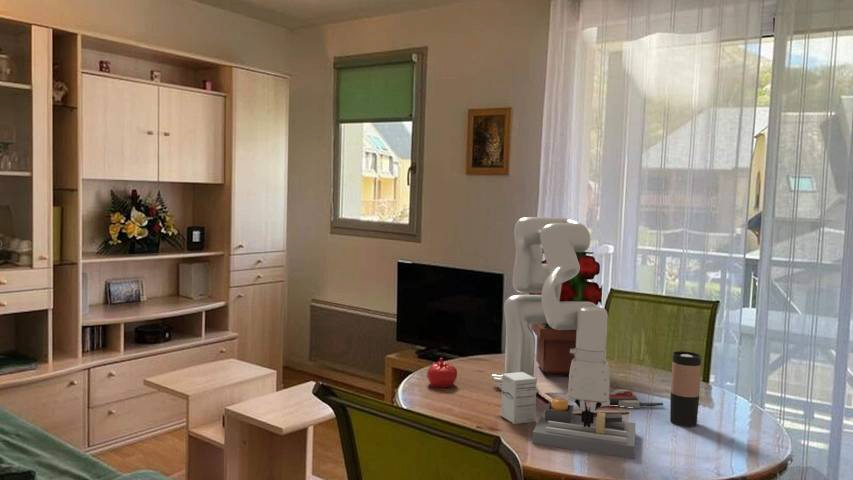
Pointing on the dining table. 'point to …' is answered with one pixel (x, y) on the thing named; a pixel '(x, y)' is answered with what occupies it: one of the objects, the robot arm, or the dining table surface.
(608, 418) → the black rocker
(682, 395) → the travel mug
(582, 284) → the potted plant
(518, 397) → the supplement box
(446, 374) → the pomegranate
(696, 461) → the dining table surface
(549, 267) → the robot arm
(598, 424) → the golden rectangular block
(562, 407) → the orange button
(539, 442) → the panel
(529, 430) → the dining table surface
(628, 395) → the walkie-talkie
